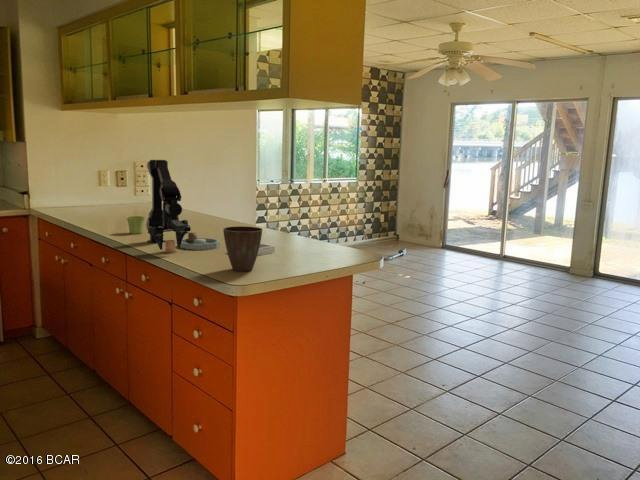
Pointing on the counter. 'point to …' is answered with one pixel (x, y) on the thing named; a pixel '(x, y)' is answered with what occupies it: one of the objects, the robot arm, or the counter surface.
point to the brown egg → (169, 246)
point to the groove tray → (201, 244)
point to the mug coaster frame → (266, 249)
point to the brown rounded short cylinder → (192, 237)
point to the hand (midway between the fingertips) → (170, 248)
